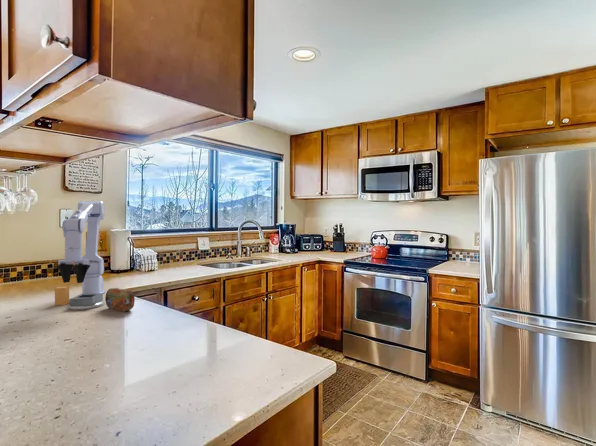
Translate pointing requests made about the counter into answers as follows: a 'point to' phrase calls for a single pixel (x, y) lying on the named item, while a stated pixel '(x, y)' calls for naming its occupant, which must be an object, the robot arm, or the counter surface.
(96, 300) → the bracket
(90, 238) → the robot arm
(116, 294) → the tin
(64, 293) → the tan rectangular prism
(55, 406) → the counter surface
